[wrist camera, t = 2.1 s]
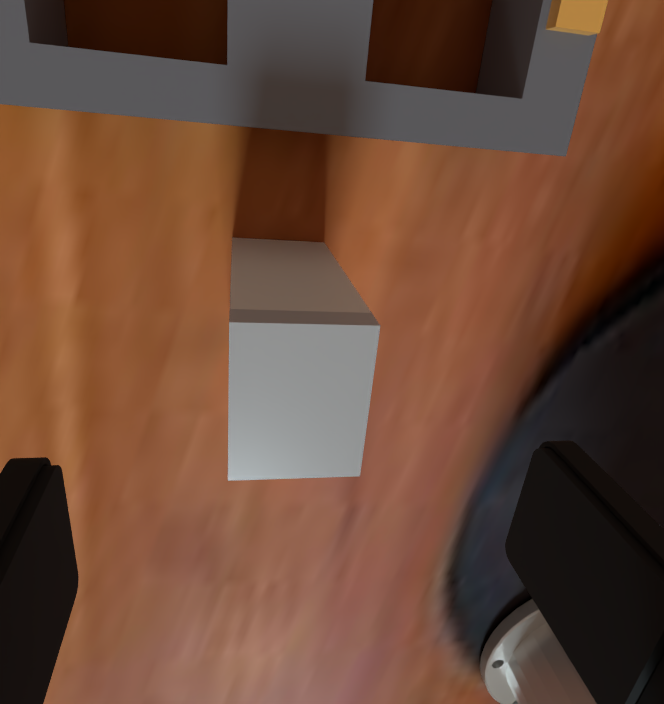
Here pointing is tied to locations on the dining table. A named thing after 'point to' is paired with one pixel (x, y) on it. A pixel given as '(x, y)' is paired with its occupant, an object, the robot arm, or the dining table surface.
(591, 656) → the robot arm
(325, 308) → the plug
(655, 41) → the dining table surface
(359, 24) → the power strip
